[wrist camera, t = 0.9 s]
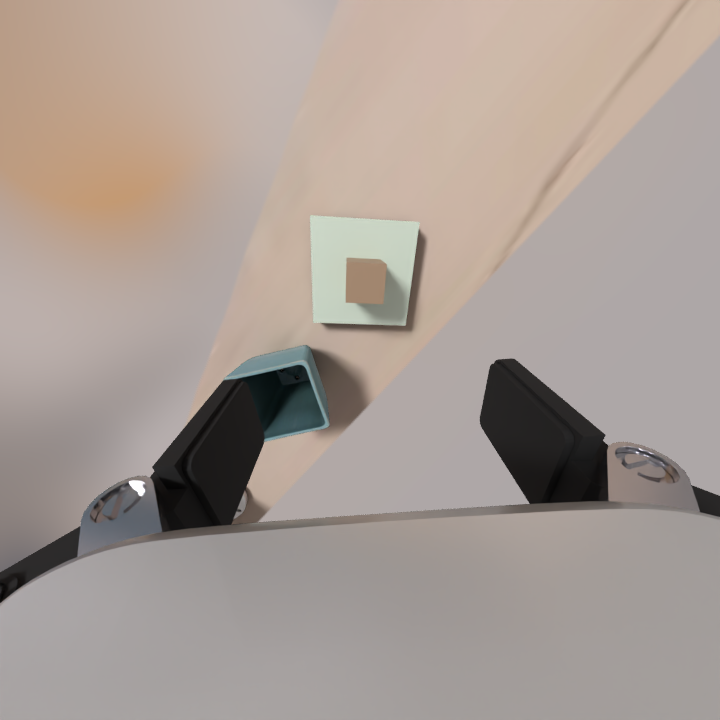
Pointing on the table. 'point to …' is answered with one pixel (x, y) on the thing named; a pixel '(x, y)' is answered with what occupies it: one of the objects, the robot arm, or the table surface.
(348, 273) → the lid
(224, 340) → the table surface
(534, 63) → the table surface
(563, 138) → the table surface
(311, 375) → the flower pot
